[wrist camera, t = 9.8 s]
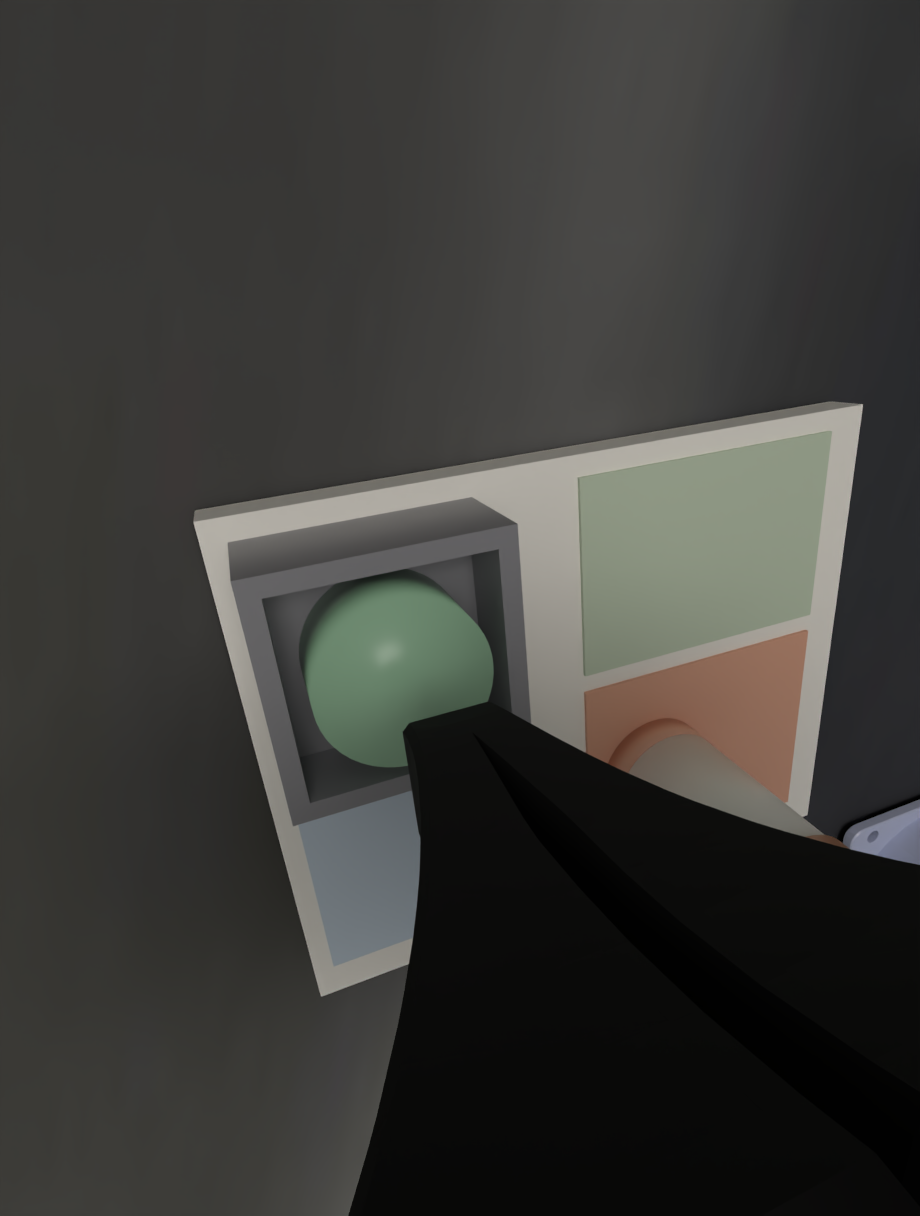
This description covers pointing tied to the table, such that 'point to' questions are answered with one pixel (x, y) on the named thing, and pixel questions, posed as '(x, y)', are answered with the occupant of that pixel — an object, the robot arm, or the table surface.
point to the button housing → (347, 550)
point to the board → (595, 625)
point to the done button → (389, 662)
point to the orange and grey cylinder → (705, 776)
